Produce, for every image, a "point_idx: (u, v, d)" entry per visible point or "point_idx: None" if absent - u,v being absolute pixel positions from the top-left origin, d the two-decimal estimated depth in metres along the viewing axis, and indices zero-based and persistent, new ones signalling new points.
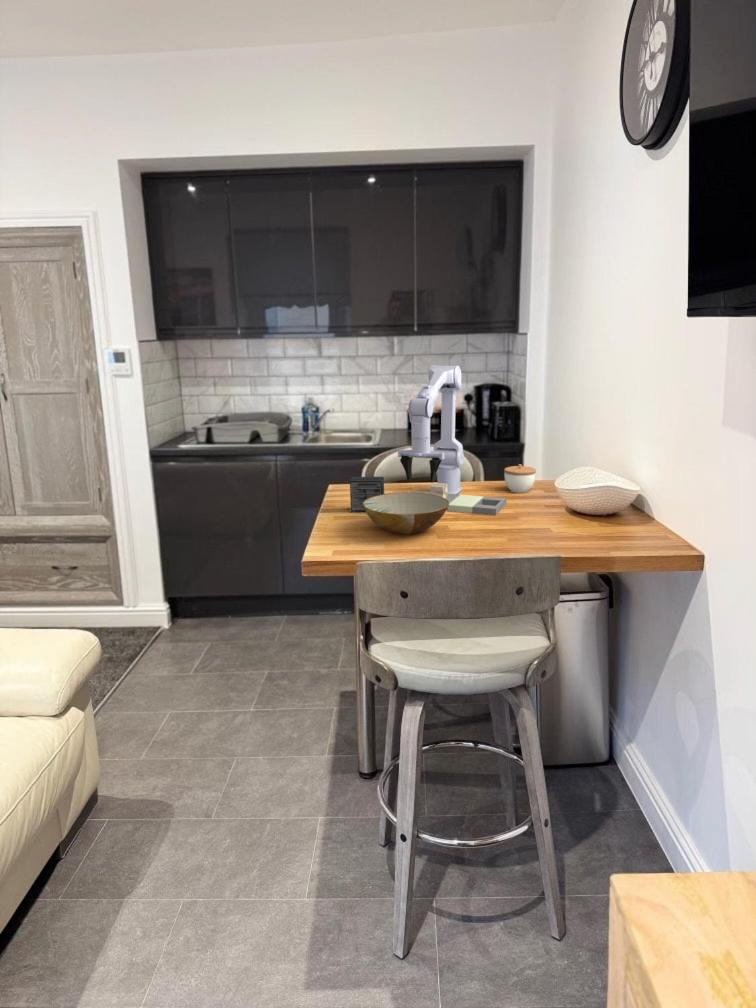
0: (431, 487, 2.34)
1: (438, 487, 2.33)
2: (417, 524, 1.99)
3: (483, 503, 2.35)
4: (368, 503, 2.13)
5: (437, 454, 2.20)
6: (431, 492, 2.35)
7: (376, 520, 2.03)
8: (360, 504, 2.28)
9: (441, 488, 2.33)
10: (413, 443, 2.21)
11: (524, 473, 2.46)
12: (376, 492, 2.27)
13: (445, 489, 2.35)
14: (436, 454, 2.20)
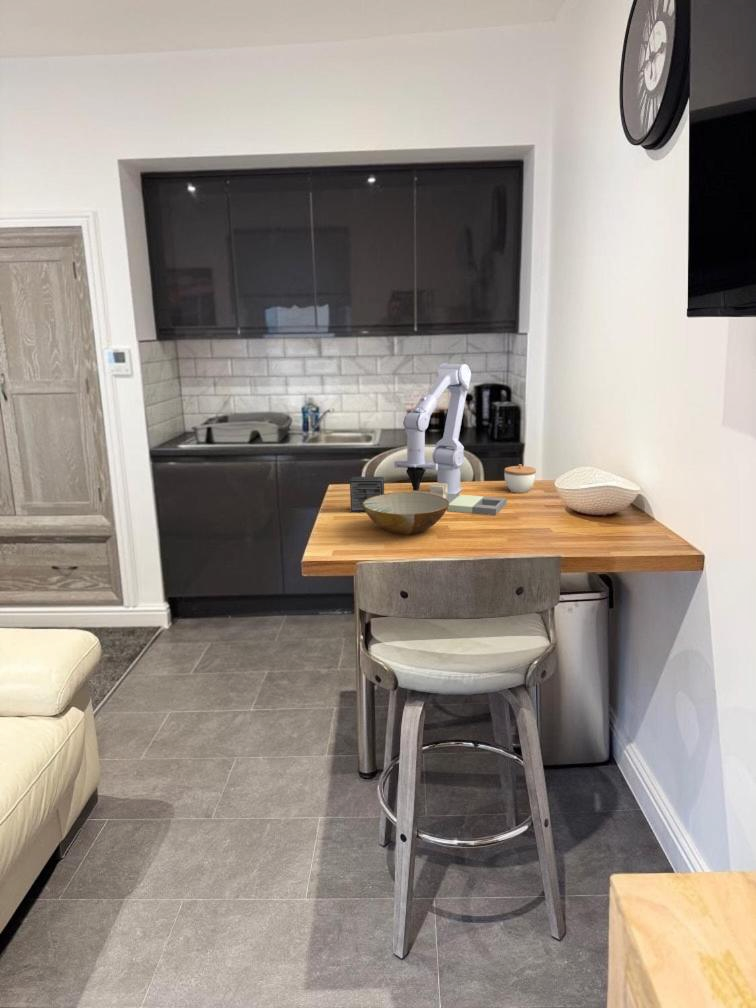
0: (431, 487, 2.34)
1: (438, 487, 2.33)
2: (417, 524, 1.99)
3: (483, 503, 2.35)
4: (368, 503, 2.13)
5: (431, 465, 2.33)
6: (431, 492, 2.35)
7: (376, 520, 2.03)
8: (360, 504, 2.28)
9: (441, 488, 2.33)
10: (408, 455, 2.34)
11: (524, 473, 2.46)
12: (376, 492, 2.27)
13: (445, 489, 2.35)
14: (430, 465, 2.33)
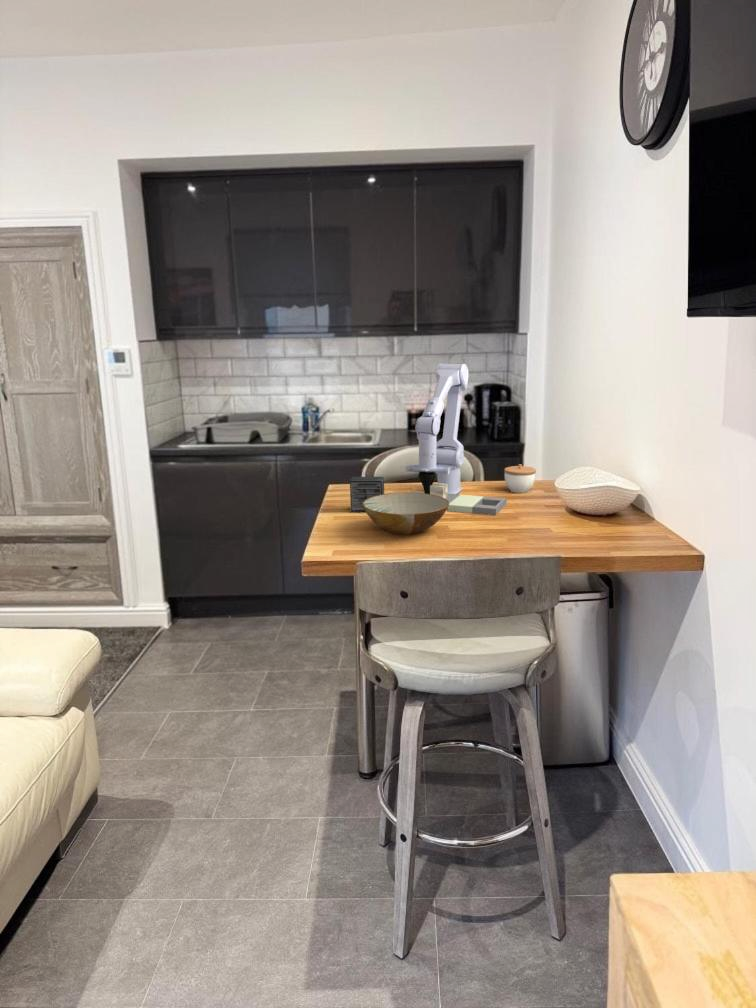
0: (431, 487, 2.34)
1: (438, 487, 2.33)
2: (417, 524, 1.99)
3: (483, 503, 2.35)
4: (368, 503, 2.13)
5: (443, 469, 2.32)
6: (431, 492, 2.35)
7: (376, 520, 2.03)
8: (360, 504, 2.28)
9: (441, 488, 2.33)
10: (420, 459, 2.33)
11: (524, 473, 2.46)
12: (376, 492, 2.27)
13: (445, 489, 2.35)
14: (442, 469, 2.32)
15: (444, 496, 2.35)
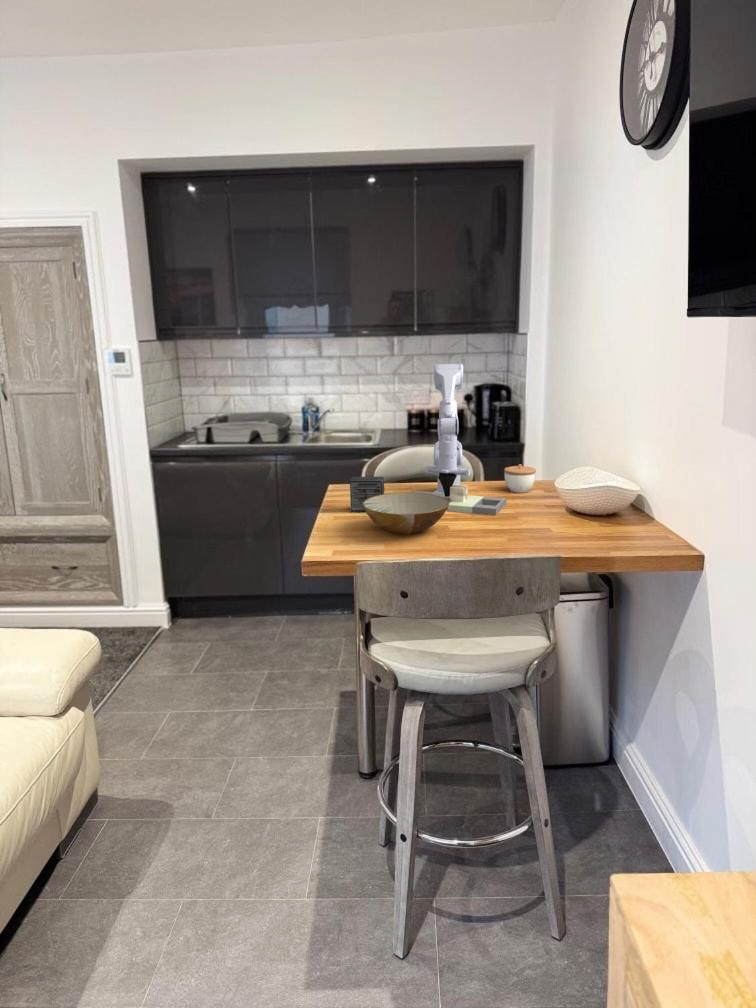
0: (451, 489, 2.31)
1: (458, 489, 2.31)
2: (417, 524, 1.99)
3: (483, 503, 2.35)
4: (368, 503, 2.13)
5: (463, 471, 2.30)
6: (451, 494, 2.32)
7: (376, 520, 2.03)
8: (360, 504, 2.28)
9: (461, 490, 2.30)
10: (440, 460, 2.31)
11: (524, 473, 2.46)
12: (376, 492, 2.27)
13: (465, 491, 2.32)
14: (462, 471, 2.30)
15: (464, 498, 2.32)
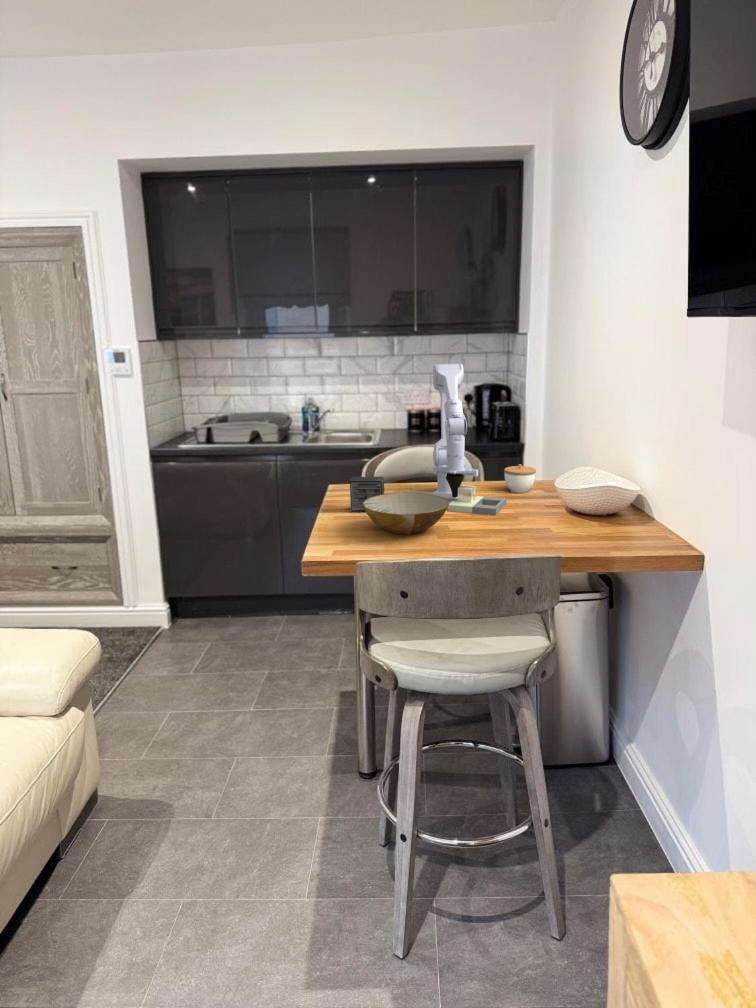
0: (459, 489, 2.31)
1: (466, 489, 2.30)
2: (417, 524, 1.99)
3: (483, 503, 2.35)
4: (368, 503, 2.13)
5: (471, 471, 2.29)
6: (459, 494, 2.31)
7: (376, 520, 2.03)
8: (360, 504, 2.28)
9: (469, 490, 2.29)
10: (448, 461, 2.30)
11: (524, 473, 2.46)
12: (376, 492, 2.27)
13: (473, 491, 2.31)
14: (470, 471, 2.29)
15: (472, 498, 2.31)
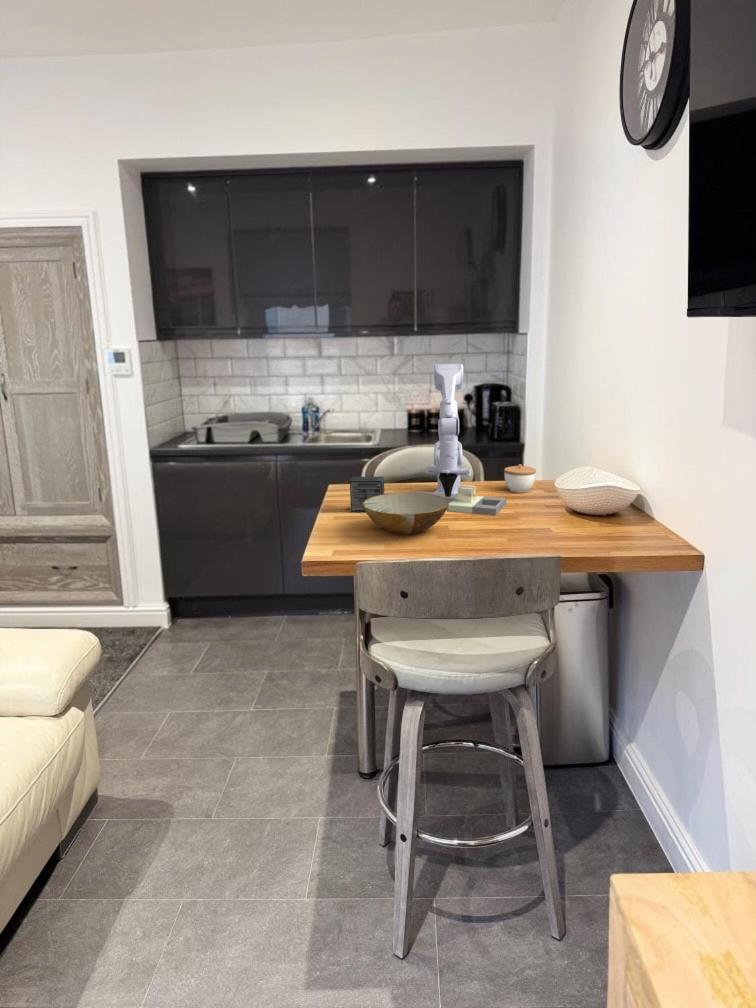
0: (459, 489, 2.31)
1: (466, 489, 2.30)
2: (417, 524, 1.99)
3: (483, 503, 2.35)
4: (368, 503, 2.13)
5: (464, 471, 2.30)
6: (459, 494, 2.31)
7: (376, 520, 2.03)
8: (360, 504, 2.28)
9: (469, 490, 2.29)
10: (441, 460, 2.30)
11: (524, 473, 2.46)
12: (376, 492, 2.27)
13: (473, 491, 2.31)
14: (463, 471, 2.30)
15: (472, 498, 2.31)
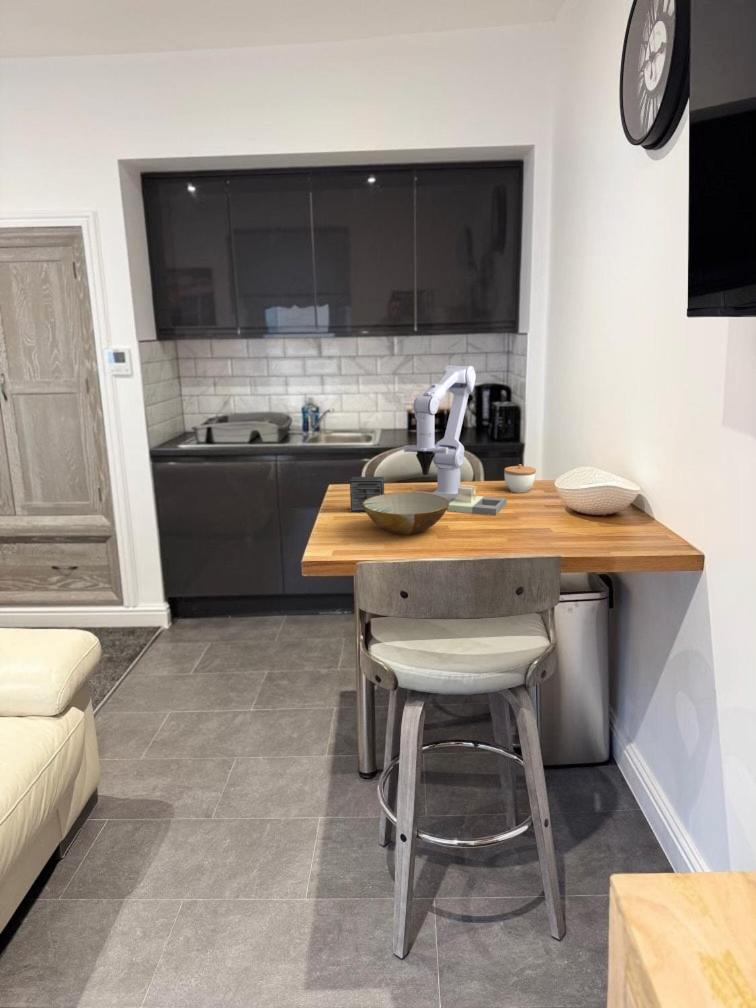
0: (459, 489, 2.31)
1: (466, 489, 2.30)
2: (417, 524, 1.99)
3: (483, 503, 2.35)
4: (368, 503, 2.13)
5: (441, 449, 2.32)
6: (459, 494, 2.31)
7: (376, 520, 2.03)
8: (360, 504, 2.28)
9: (469, 490, 2.29)
10: (418, 438, 2.33)
11: (524, 473, 2.46)
12: (376, 492, 2.27)
13: (473, 491, 2.31)
14: (440, 449, 2.32)
15: (472, 498, 2.31)
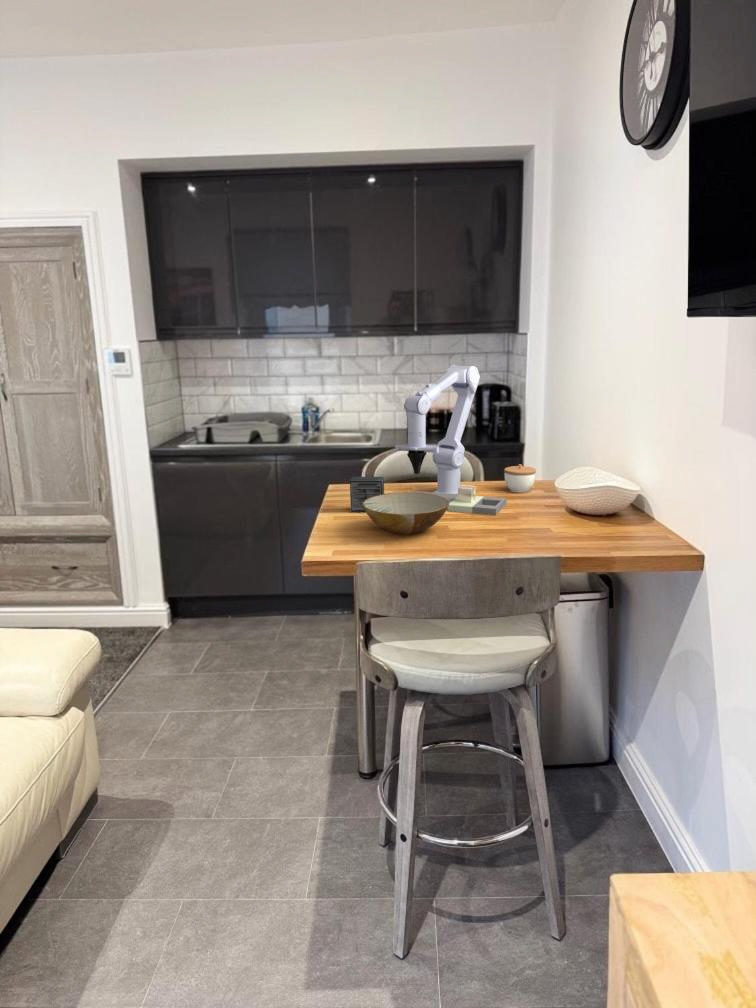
0: (459, 489, 2.31)
1: (466, 489, 2.30)
2: (417, 524, 1.99)
3: (483, 503, 2.35)
4: (368, 503, 2.13)
5: (432, 448, 2.34)
6: (459, 494, 2.31)
7: (376, 520, 2.03)
8: (360, 504, 2.28)
9: (469, 490, 2.29)
10: (409, 438, 2.35)
11: (524, 473, 2.46)
12: (376, 492, 2.27)
13: (473, 491, 2.31)
14: (431, 448, 2.34)
15: (472, 498, 2.31)
